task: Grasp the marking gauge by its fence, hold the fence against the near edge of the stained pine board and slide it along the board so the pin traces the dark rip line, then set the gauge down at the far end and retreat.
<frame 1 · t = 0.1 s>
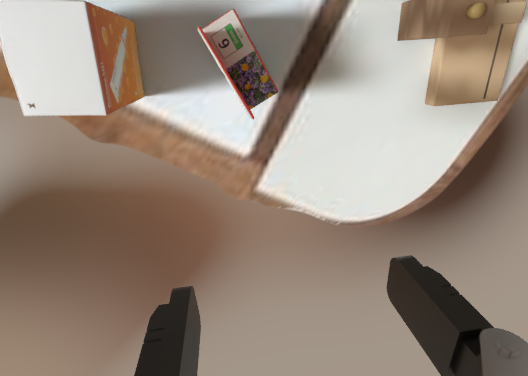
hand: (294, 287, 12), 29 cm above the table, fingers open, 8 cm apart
board: (468, 35, 37), on the table
small box: (112, 59, 33), on the table
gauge: (415, 21, 36), on the table
ink box: (236, 60, 35), on the table
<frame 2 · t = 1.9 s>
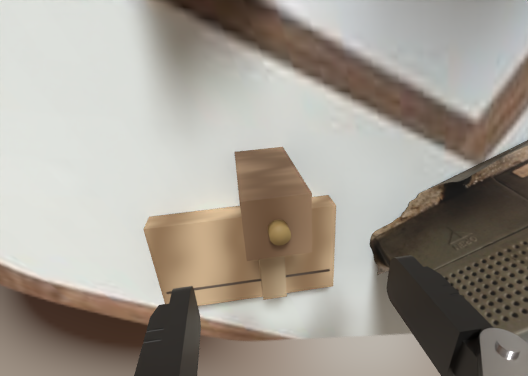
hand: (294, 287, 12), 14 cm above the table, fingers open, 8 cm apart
board: (246, 247, 28), on the table
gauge: (260, 171, 25), on the table
radio: (470, 205, 30), on the table
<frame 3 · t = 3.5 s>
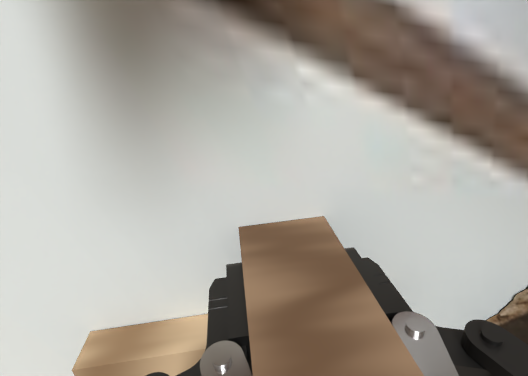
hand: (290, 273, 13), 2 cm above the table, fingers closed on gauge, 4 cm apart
board: (255, 363, 17), on the table
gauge: (283, 256, 14), on the table, touching gripper
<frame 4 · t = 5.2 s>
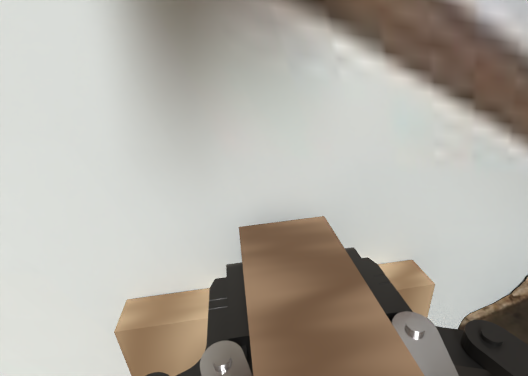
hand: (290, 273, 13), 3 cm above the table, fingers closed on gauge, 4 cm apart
board: (279, 335, 18), on the table
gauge: (283, 256, 14), point 1 cm above the table, touching gripper
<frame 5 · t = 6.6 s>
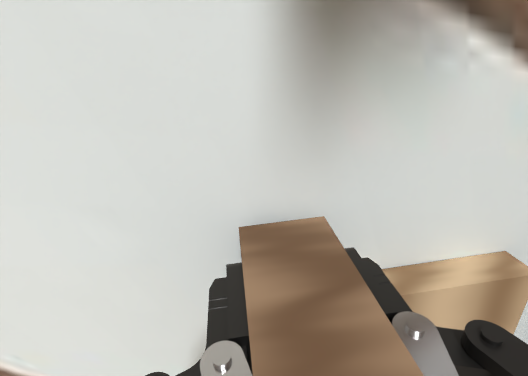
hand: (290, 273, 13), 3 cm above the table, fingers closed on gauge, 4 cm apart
board: (369, 326, 19), on the table
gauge: (283, 256, 14), point 1 cm above the table, touching gripper
when the fingers open (2 cm above the table, at t = 7.2 s): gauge stays where it is, on the table.
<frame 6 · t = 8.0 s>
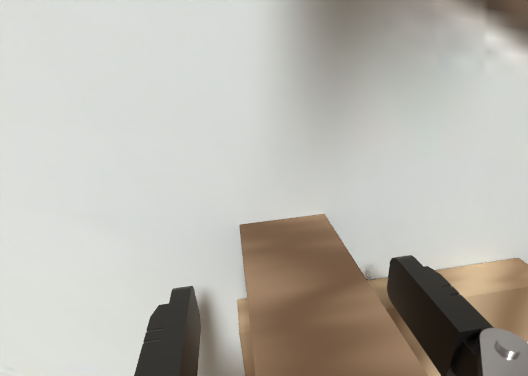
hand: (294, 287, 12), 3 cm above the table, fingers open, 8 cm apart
board: (376, 335, 18), on the table
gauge: (284, 254, 14), on the table
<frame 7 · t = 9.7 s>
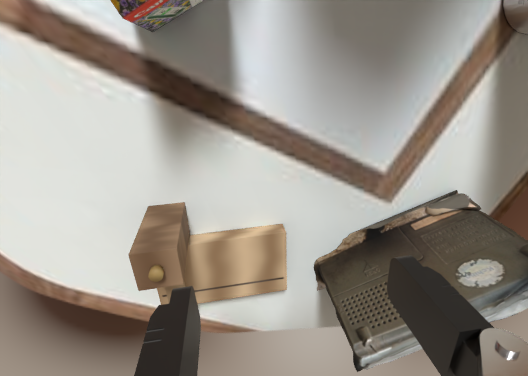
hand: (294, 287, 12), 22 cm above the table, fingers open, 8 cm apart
board: (222, 261, 38), on the table
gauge: (169, 219, 34), on the table
radio: (386, 243, 42), on the table
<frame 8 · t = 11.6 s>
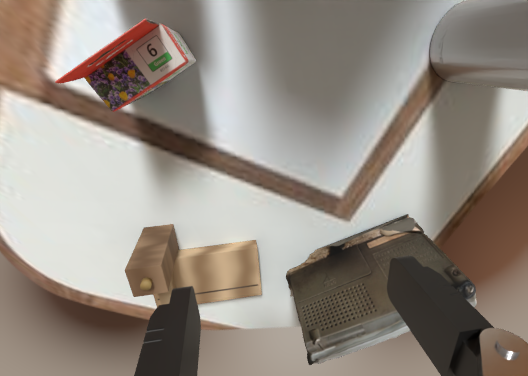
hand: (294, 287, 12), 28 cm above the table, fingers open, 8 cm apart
board: (206, 270, 45), on the table
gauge: (161, 237, 42), on the table
radio: (349, 258, 49), on the table
ink box: (159, 65, 33), on the table
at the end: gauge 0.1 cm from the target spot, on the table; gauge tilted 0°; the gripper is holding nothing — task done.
